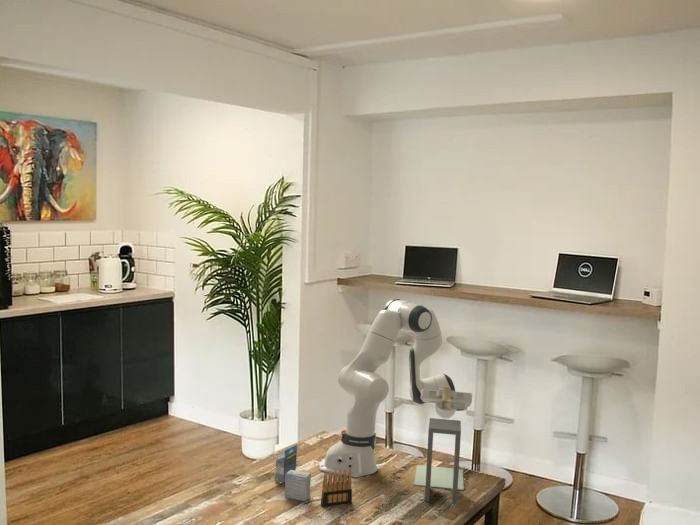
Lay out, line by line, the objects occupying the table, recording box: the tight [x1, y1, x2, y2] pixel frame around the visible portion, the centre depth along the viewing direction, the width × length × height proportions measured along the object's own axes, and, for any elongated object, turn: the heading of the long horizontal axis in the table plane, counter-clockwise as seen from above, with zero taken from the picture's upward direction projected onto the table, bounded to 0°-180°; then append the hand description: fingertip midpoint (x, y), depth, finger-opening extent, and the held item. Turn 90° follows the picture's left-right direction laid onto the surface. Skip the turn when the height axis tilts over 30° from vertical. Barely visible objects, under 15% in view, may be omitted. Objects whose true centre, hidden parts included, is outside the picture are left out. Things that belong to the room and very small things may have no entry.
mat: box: [413, 464, 465, 491], centre depth 259 cm, size 18×20×1 cm
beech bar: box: [442, 387, 451, 409], centre depth 260 cm, size 3×20×3 cm, turn 171°
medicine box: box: [284, 470, 312, 502], centre depth 235 cm, size 8×4×9 cm, turn 71°
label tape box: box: [274, 444, 298, 484], centre depth 251 cm, size 9×4×12 cm, turn 154°
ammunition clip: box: [320, 469, 353, 508], centre depth 231 cm, size 11×2×12 cm, turn 112°
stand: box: [424, 417, 462, 505], centre depth 241 cm, size 11×12×26 cm
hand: (446, 392), depth 266 cm, fingers closed on beech bar, 3 cm apart
